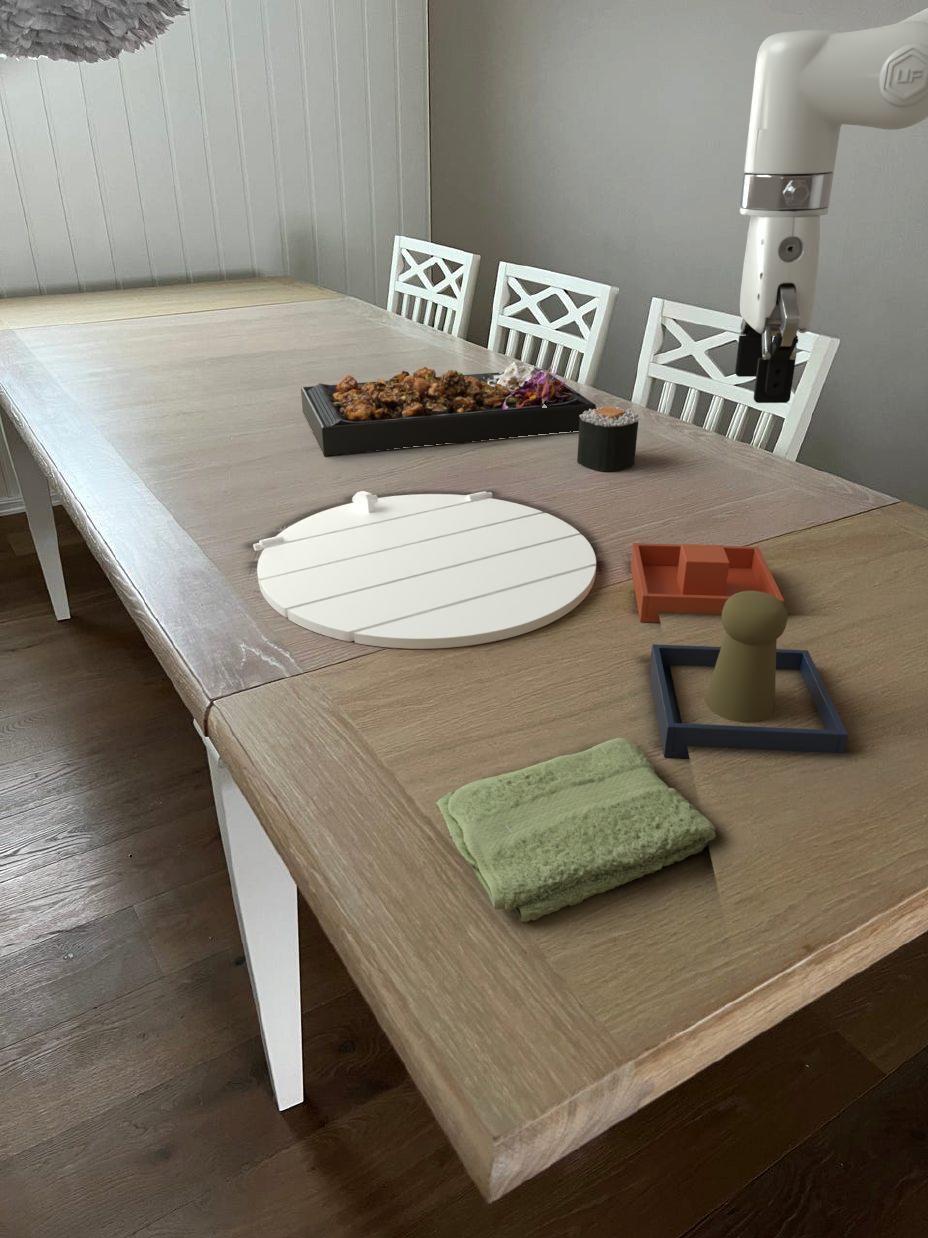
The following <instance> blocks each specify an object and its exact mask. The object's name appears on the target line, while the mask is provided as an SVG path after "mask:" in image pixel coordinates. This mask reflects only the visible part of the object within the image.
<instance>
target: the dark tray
mask: <svg viewBox="0 0 928 1238" xmlns="http://www.w3.org/2000/svg"><path fill="white" fill-rule="evenodd" d="M720 650H721V646H709V645H684V644H683V645H682V644H680V645H679V644H657V643H655V644H654V643H653V644H651V651H650V661H649V669H648V674H649V679H650V685H651V691H652V697H653V702H654V708H655V713H656V719H657V725H658V731H659V736H660V742H661V749H662V754H663V758H672V759H673V758H675V759H690V752H689V749H688V747H699V748H720V749H742V750H761V751H763V750H765V751H782V752H783V751H784V752H786V751H787V752H806V753H827V754H828V753H830V754H844V753H845V750H846V745H847V741H848V736H849V734H848V732H847V730H846V727H845V726H844V725H845V724H843V722H842V719H841V716H840V715H839V712H838V711H837V708H836V706H835V705H834V702H833V700H832V697H831V696H830V694H829V692H828V689H827V688H826V685H825V683H824V681H823V679H822V677H821V675H820V673H819V670H818V669H817V666H816V664H815V662H814V660H813V658H812V656H811V654H810V653H809V652H810V651H809V650H808V649H802V650H801V649H790V648H789V649H787V648H776V670H789V671H792V670H793V671H799V673H800V674H801V677H802V679H803V681H804V683H805V687H806V688H807V690H808V693H809V695H810V698H811V699H812V702H813V705H814V706H815V708H816V711H817V714H818V715H819V717H820V720H821V722H822V724H823V727H824V728H825V729H819V728H818V729H817V728H794V727H775V726H774V727H773V726H750V725H726V724H705V723H704V724H703V723H683V721H682V716H681V712H680V707H679V703H678V698H677V694H676V693H677V692H676V689H675V684H674V679H673V675H672V669H671V666H685V667H686V666H687V667H689V666H690V667H709V668H710V667H713V668H715V666H716V662H717V659H718V656H719V653H720Z"/></svg>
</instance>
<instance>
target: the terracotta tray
mask: <svg viewBox="0 0 928 1238" xmlns="http://www.w3.org/2000/svg"><path fill="white" fill-rule="evenodd" d="M631 547H632V548H631V556H630V557H631V559H630V572H631V578H632V584H633V589H634V594H635V600H636V601H635V602H636V606H637V612H638V617H639V622H640V623H656V624H657V623H658V624H660V623H661V618H660V614H659V613H676V614H704V615H722V611H723V607H724V605H725V603H726V601H727V600H728V599H729V598H730V597H731V596H732V595H733V594H736V593H739V592H743V591H759V592H764V593H768V594H770V595H772V596H774V597H776V598H778V599H779V600H780V601H782V603H783V604H784V605H785V599H784V597H783V595H782V593H781V591H780V588H779V586H778V585H777V582H776V580H775V578H774V576H773V574H772V572H771V570H770V568H769V565H768V563H767V561H766V559H765V557H764V555H763V553H762V551H761V549H760V547H759V546H745V545H743V546H741V545H740V546H739V545H723V548H724V550H725V553H726V555H727V558H728V560H729V563H730V564H729V570H728V577H727V584H726V590H725V596H708V595H681V594H680V590H679V587H678V583H677V574H678V566H679V557H680V549H681V544H680V543H679V544H678V543H677V544H675V543H674V544H673V543H644V542H643V543H642V542H640V543H638V542H633V543H632V545H631Z"/></svg>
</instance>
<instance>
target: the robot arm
mask: <svg viewBox="0 0 928 1238" xmlns="http://www.w3.org/2000/svg"><path fill="white" fill-rule="evenodd" d="M762 41H763V42H761V44H760V45H759V48H758V51H757V54H756V58H755V59H756V60H755V66H754V76H753V85H752V94H751V95H752V96H751V106H750V113H749V122H748V123H749V125H748V134H747V141H746V150H745V151H746V152H745V159H744V160H745V161H744V169H743V180H742V187H741V197H740V207H739V214H740V215H741V216H748V217H750V219H749V225H748V230H747V234H746V235H747V237H746V243H745V252H744V259H743V266H742V274H741V277H742V278H741V283H740V284H741V285H740V298H739V313H740V316H741V317H742V320H741V323H740V329H739V332H740V335H738V342H737V349H736V351H737V352H736V360H735V369H734V374H735V375H736V376H737V377H739V378H742V377H743V378H745V377H749V378H751V377H752V378H753V377H755V382H754V390H753V401H754V402H755V403H756V404H787V403H788V402H790V400H791V395H792V389H793V388H792V387H793V381H794V374H795V368H796V360H797V354H798V349H797V344H798V343H799V336H798V334H797V333H800V334H806V333H807V332H809V330H810V329H811V327H812V322H813V314H814V313H813V312H814V305H815V295H816V285H817V276H818V266H819V255H820V240H821V216H825V215H828V213H829V209H830V208H829V206H830V201H831V193H832V186H833V181H834V173H835V167H836V160H837V153H838V146H839V139H840V133H841V127H842V125H846V126H847V125H849V126H857V127H858V126H859V127H867V128H873V129H874V128H875V129H880V130H890V131H891V130H893V131H894V130H901V129H906V128H910V127H912V126H915V125H917V124H919V123H921V122H923V121H924V120H926V119H927V118H928V7H926V8H924V9H923V10H921V11H919V12H917V13H915V14H912V15H910V16H909V17H907V18H905V19H903V20H901V21H899V22H897V23H893V24H888V25H883V26H877V27H872V28H871V27H870V28H866V29H860V30H853V31H846V32H842V31H840V30H834V29H804V30H803V29H802V30H791V31H782V32H778V33H774V34H772V35H769V36H767V38H765V39H764V40H762Z"/></svg>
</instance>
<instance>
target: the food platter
mask: <svg viewBox="0 0 928 1238" xmlns="http://www.w3.org/2000/svg"><path fill="white" fill-rule="evenodd" d="M551 369H552V365H551V366H549V368H548V369H547V370H545V369H544V368H536V366H535V364H533V365H525V364H524V363H523V361H517V360H514V361H513V362H512V363H511V364H509V366H507V367H506V368H505V369H504V371H499V372H487V373H473V374H471V373H470V374H463V372H461V371H459V372H458V370H453V369H449V370H448V371H447V372H444V373H442V374H441V375H440V376H437V372H436V371H435V369H434V368H428V367H426V366H423V367H421V368H418V369H417V370H415V371H414V372H413V373H412V375H410V373H409V371H406V370H402V372H400V373H398V374H395V375H394V376H393V377H391V378H389V380H384V379H381V378H377V379H376V381H366V382H365V381H364V382H358V381H357V379H356V378H355V377H354V376H351V375H345V376H344V377H343V378H342V379H341V380H340V381H338V383H337V384H326V383H318V384H316V385H315V386H314V385H313V386H312V385H311V386H302V387H300V397H301V407H302V414H303V413H304V414H303V416H304V415H305V416H304V418H305V417H306V418H305V420H306V419H307V420H306V422H307V421H308V422H307V424H308V423H309V424H308V426H309V425H310V426H309V428H310V427H311V428H310V430H311V429H312V430H311V432H312V431H313V432H312V434H313V433H314V434H313V436H314V435H315V437H314V438H316V439H315V440H317V441H316V443H317V442H318V443H317V445H318V444H319V445H318V447H319V446H320V447H319V449H320V448H321V449H320V451H321V450H322V451H321V453H322V452H323V453H322V455H323V457H329V456H328V455H333V456H339V455H338V454H344V455H351V454H350V453H354V454H361V453H360V452H365V453H368V452H367V451H376V450H386V451H388V450H387V449H394V448H403V447H413V446H424V445H436V444H445V443H461V444H466V443H465V442H472V441H481V440H489V439H499V438H509V437H518V436H528V435H538V434H549V433H559V432H570V431H571V432H573V431H579V423H580V416H579V415H581V414H583V412H584V411H589V409H591V410H593V409H594V410H595V409H597V404H595V402H593V401H591V400H590V399H588V398H587V397H585V396H584V395H583V394H581V393H580V392H578V391H576V390H575V389H573V388H572V387H570V386H569V385H567V384H566V383H567V381H566V380H565V381H561V380H560V379H558V378H557V377H556V375H557V373H558V371H559V369H557V370H556V371H555V373H554V375H552V374H551V373H550V371H551ZM544 404H545V405H546V406H547V408H542V406H543V405H544ZM472 443H473V442H472ZM376 452H377V451H376ZM347 453H348V454H347Z"/></svg>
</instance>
